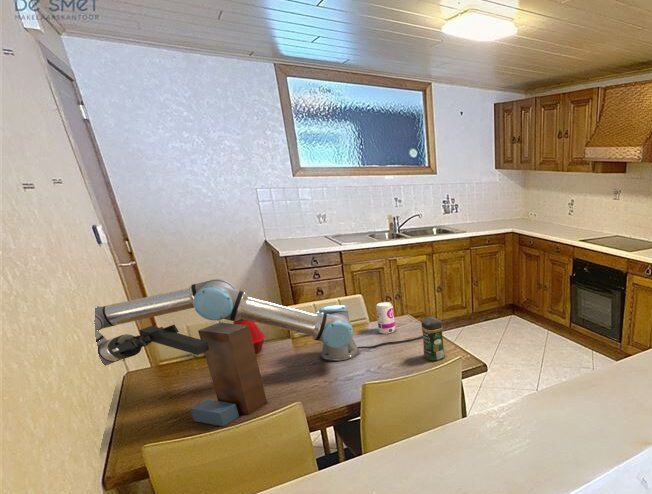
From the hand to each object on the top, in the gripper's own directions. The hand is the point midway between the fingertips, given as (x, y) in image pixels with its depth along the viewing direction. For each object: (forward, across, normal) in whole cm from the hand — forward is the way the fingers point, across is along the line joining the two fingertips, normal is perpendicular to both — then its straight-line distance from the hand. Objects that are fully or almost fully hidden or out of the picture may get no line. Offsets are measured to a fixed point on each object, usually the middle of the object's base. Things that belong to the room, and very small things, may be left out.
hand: (168, 331), depth 136 cm
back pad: (0, 0, -4) cm, 5 cm away
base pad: (-2, 0, -32) cm, 32 cm away
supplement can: (+11, -88, -38) cm, 96 cm away
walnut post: (0, -9, -33) cm, 34 cm away
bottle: (-34, -50, -21) cm, 64 cm away
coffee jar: (+46, -64, -50) cm, 93 cm away
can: (-16, -78, -28) cm, 84 cm away
